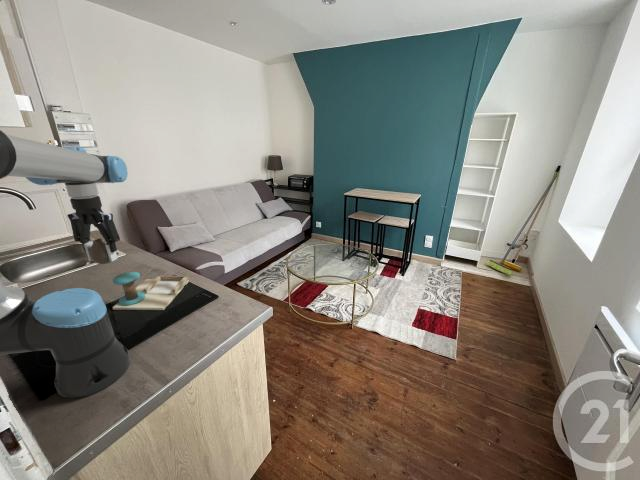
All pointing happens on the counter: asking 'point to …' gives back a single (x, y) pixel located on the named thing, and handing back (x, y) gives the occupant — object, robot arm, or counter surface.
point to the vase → (99, 252)
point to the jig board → (148, 291)
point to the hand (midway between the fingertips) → (103, 259)
